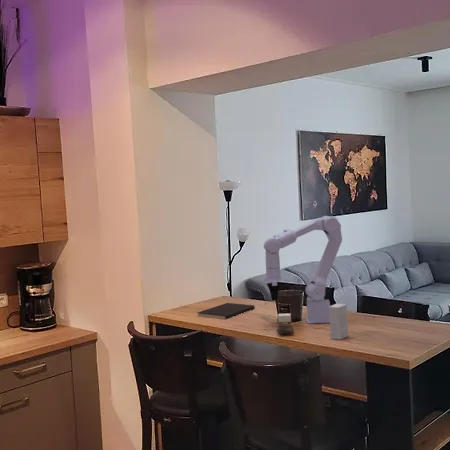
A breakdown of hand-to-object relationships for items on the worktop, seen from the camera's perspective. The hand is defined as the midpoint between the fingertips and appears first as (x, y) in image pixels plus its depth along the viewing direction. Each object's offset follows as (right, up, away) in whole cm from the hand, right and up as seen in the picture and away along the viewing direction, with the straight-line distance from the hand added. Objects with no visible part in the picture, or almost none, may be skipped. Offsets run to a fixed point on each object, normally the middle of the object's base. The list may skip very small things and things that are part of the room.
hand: (274, 300), depth 239 cm
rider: (+3, -7, -13) cm, 15 cm away
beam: (+3, -11, -12) cm, 16 cm away
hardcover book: (-20, -10, +29) cm, 36 cm away
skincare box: (+22, -11, -25) cm, 35 cm away
